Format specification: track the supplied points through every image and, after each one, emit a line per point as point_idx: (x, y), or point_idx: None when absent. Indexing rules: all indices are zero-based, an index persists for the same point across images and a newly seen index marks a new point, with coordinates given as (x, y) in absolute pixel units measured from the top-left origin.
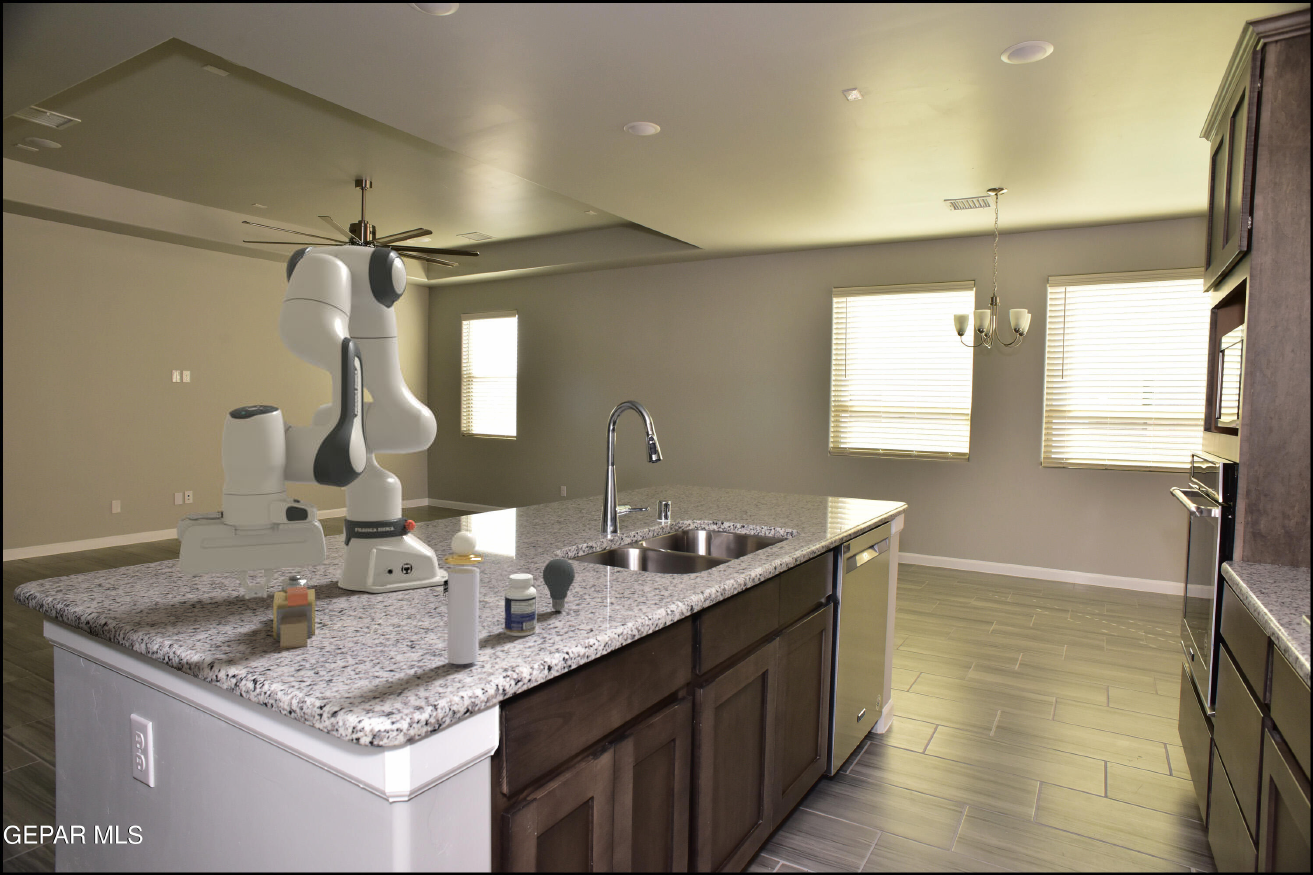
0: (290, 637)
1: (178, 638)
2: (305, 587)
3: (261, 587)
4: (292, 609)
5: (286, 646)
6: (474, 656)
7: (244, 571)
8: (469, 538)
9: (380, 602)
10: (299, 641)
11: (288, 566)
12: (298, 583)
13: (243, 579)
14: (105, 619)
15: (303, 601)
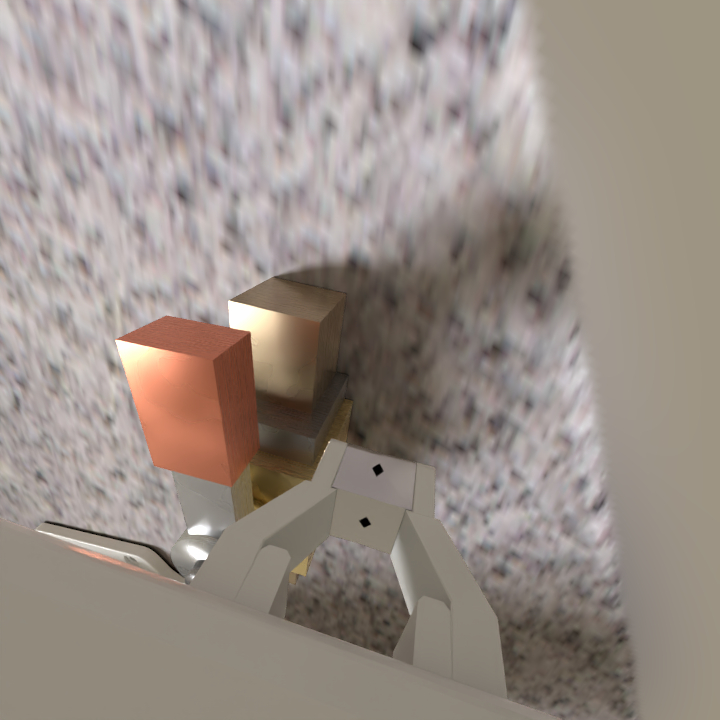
0: (306, 297)
1: (562, 536)
2: (152, 448)
3: (339, 485)
4: (265, 420)
5: (327, 291)
6: None
7: (436, 671)
8: None
9: (135, 500)
10: (286, 287)
11: (39, 543)
12: (201, 534)
13: (446, 586)
14: (636, 708)
15: (174, 326)
